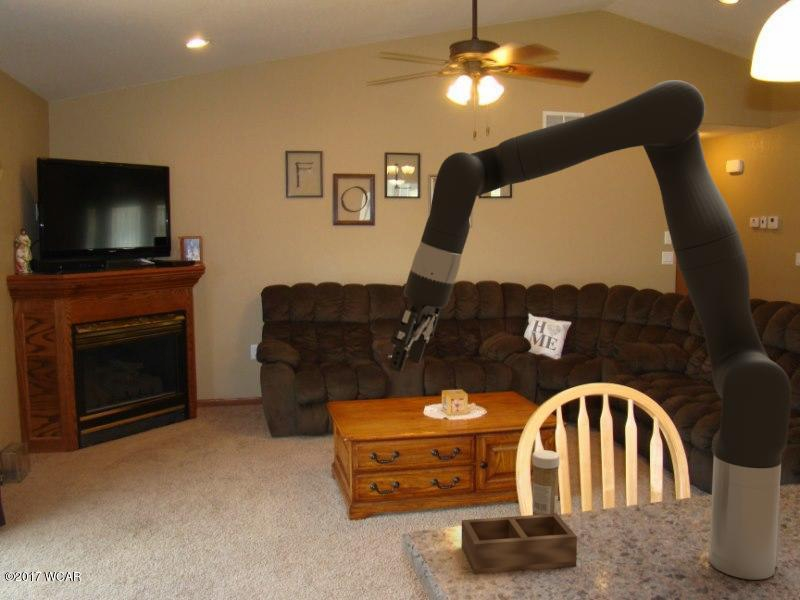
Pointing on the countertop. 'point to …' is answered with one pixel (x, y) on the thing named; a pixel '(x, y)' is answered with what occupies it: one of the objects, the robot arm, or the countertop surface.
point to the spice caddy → (518, 543)
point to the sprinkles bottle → (545, 482)
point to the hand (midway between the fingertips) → (404, 365)
